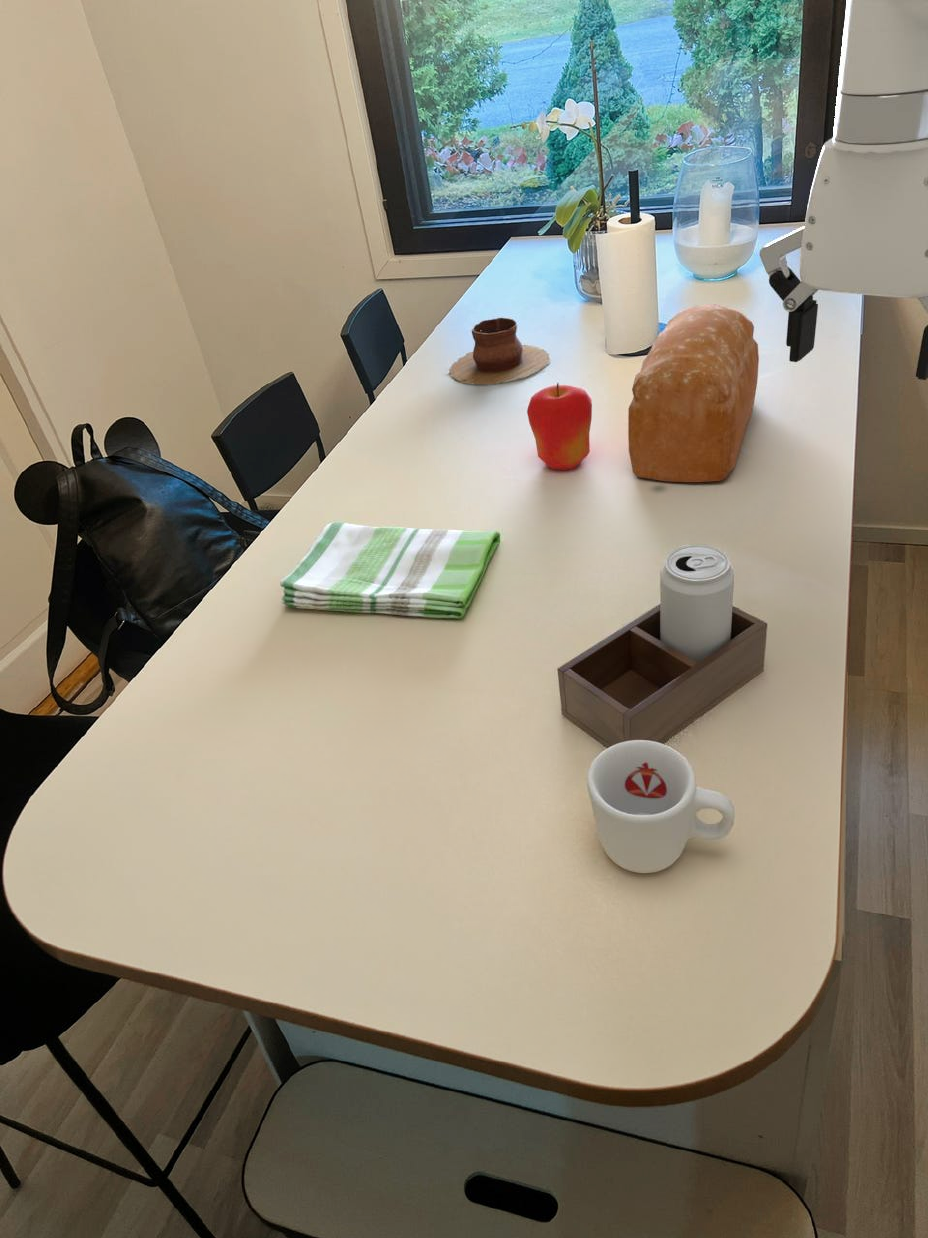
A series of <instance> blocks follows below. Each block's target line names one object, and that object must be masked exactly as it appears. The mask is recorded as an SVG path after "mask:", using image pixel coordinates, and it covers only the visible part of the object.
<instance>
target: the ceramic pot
mask: <svg viewBox="0 0 928 1238" xmlns="http://www.w3.org/2000/svg"><path fill="white" fill-rule="evenodd" d="M517 331H518V323H517V321H516V320H515V319H513V318H509V317H497V318H491V319H485V320H482V321H480V322H479V323H477V324H475V325H474V326H473V328H472V329H471V335H472V338H473V341H474V347H473V351H470V352H468V353H466V354H465V355H463V356H461V357H460V358H457V361H454V362H453V363H452V364H451V366H450V369H449V371H448V373H449V374H451V377H452V378H453V379H454V380H455V381H458V382H460V383H462V384H464V385H465V384H467V385H468V384H469V385H471V384H472V385H485V386H488V385H496V384H504V383H506V382H509V381H510V382H511V381H516V380H519V379H525V378H527V377H528V376H531V375H532V374H536V373H538V372H539V370H542V369H544V368H545V367H546V366H548V363H550V361H551V359H550V354H549V353H548V352H547V351H546V350H544V349H543V348H540V347H538V346H534V345H528V344H522V342H521V340H520V339H519V338H518V336H517Z"/></svg>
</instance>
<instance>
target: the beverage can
mask: <svg viewBox="0 0 928 1238" xmlns="http://www.w3.org/2000/svg"><path fill="white" fill-rule="evenodd" d="M734 587H735V570H734V567H732V565H731V559H730V556H729V555H728V553H726V552H725V551H724V550H722V549H720V548H718V547H715V546H711V545H707V544H690V545H684V546H683V545H682V546H680V547H678V548H675V549H673V550H672V551H670V552H669V553H668V554H667V556H665V559H664V565H663V566H662V568H661V570H660V573H659V591H660V592H659V595H660V596H659V599H660V601H659V602H660V603H659V604H660V641H661V642H663V643H665V644H667V645H668V646H670V647H672V648H673V649H675V650H677V651H678V652H680V653H682V654H684V655H685V656H687V657H689V658H690V659H692V660H694V661H696V662H697V663H699V662H700V661H702V660H703V659H705V658H706V657H708V656H709V655H711V654H712V653H713V652H715V651H716V650H718V649H719V648H721V647H722V646H724V645H725V644H726V643H728V642H729V641H730V640H731V623H732V607H733V606H734V605H733V604H734V589H735V588H734Z"/></svg>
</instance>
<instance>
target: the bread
mask: <svg viewBox="0 0 928 1238" xmlns="http://www.w3.org/2000/svg"><path fill="white" fill-rule="evenodd" d="M754 332H755V326H754V322H752V321H751V320H750V319H749V318H748V317H747V315H745V314H744V313H743V312H741V310H738V309H735V308H732V307H728V306H723V305H720V304H702V305H695V306H692V307H688V308H686V309H683V310H680V311H679V312H678V313H676V314H675V316H673V317H672V318H670V319H669V320H668V322H667V324H666V325H665V328H664V329H662V331H660V333H659V334H658V336H657V337H656V339H655V340H654V341H653V343H652V346H651V348H650V350H649V352H648V353H647V354H646V356H645V357H644V359H643V361H642V364H641V368H640V371H639V372H638V373H637V374H635V377H634V381H633V383H632V388H631V391H632V395H633V397H632V400H631V402H630V404H629V406H628V409H627V411H628V413H627V414H628V415H627V416H628V418H627V420H628V422H627V423H628V425H627V426H628V433H627V435H628V438H627V439H628V454H629V460H630V464H631V471H632V473H633V474H634V475H635V476H636V477H637V478H643V479H649V480H657V481H661V482H673V483H675V482H676V483H709V482H719V481H723V480H724V479H726V478H727V477H728V476H729V475H730V473H731V472H732V470H733V469H734V468H735V467H736V464H737V460H738V457H739V454H740V451H741V449H742V448H741V447H742V445H743V444H742V443H743V440H744V437H745V432H746V428H747V425H748V423H749V421H750V418H751V417H752V414H753V413H752V412H753V409H754V406H755V399H756V393H757V386H758V379H759V378H758V377H759V363H760V362H759V361H760V355H759V354H760V353H759V344H758V343H757V341H756V339H755V338H754Z"/></svg>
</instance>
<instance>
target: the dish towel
mask: <svg viewBox="0 0 928 1238" xmlns="http://www.w3.org/2000/svg"><path fill="white" fill-rule="evenodd" d="M500 543H501V533H500V532H499V531H496V530H491V531H486V530H485V531H484V530H483V531H482V530H456V529H441V528H440V529H425V528H410V527H402V526H401V527H399V526H369V525H362V524H350V523H347V522H342V521H333V522H330V523H327V524H326V525H325V526H324V527H323V528H322V529H321V531H320V532H319V534H318V536H317V537H316V538H315V540H314V542H313V543H312V544H311V546H310V547H309V549H308V550H307V552H306V553H305V554H304V556H303V557H302V558H301V559H300V561H299V562H298V563H297V564H296V565H295V567H294V568H293V569H292V570H291V571H290V572H289V574H287V575H286V576H284V577H283V579H281V580H280V581H279V584H280V587H282V588H283V590H282V592H283V596H282V597H281V605H283V606H284V607H288V608H293V609H307V610H308V609H309V610H323V611H332V612H348V613H359V614H360V613H361V614H363V613H369V614H371V613H373V614H385V615H393V616H403V617H404V616H405V617H406V616H407V617H423V618H432V619H433V618H434V619H435V618H436V619H461V618H463V617H464V616H465V614H466V611H467V609H468V608H469V606H470V605H471V603H472V601H473V598H474V595H475V593H476V591H477V589H478V587H479V585H480V584H481V582H482V580H483V578H484V577H483V576H484V575H485V572H486V570H487V567H488V564H489V562H490V560H491V558H492V557H493V555H494V552H495V551H496V549H497V547H498V546H499V545H500Z"/></svg>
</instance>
